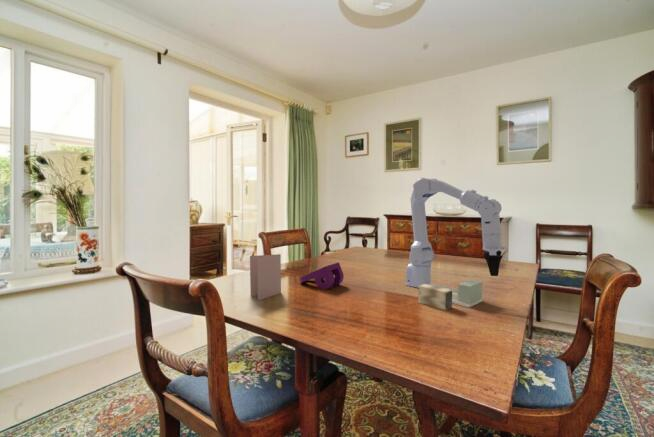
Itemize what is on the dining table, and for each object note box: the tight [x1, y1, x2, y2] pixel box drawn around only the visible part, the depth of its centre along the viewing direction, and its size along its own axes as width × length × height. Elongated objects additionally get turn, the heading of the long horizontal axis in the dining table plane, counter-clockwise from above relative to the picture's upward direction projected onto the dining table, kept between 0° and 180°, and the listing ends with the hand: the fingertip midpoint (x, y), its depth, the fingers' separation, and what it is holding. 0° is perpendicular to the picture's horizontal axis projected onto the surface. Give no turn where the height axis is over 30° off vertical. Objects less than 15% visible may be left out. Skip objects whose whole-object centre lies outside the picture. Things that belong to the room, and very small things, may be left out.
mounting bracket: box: [298, 262, 345, 290], centre depth 134 cm, size 10×8×18 cm
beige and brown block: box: [417, 284, 453, 311], centre depth 107 cm, size 10×4×6 cm, turn 41°
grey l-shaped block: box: [434, 279, 483, 308], centre depth 114 cm, size 17×10×7 cm, turn 41°
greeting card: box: [249, 253, 282, 301], centre depth 117 cm, size 11×7×15 cm, turn 108°
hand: (494, 273), depth 110 cm, fingers open, 7 cm apart
